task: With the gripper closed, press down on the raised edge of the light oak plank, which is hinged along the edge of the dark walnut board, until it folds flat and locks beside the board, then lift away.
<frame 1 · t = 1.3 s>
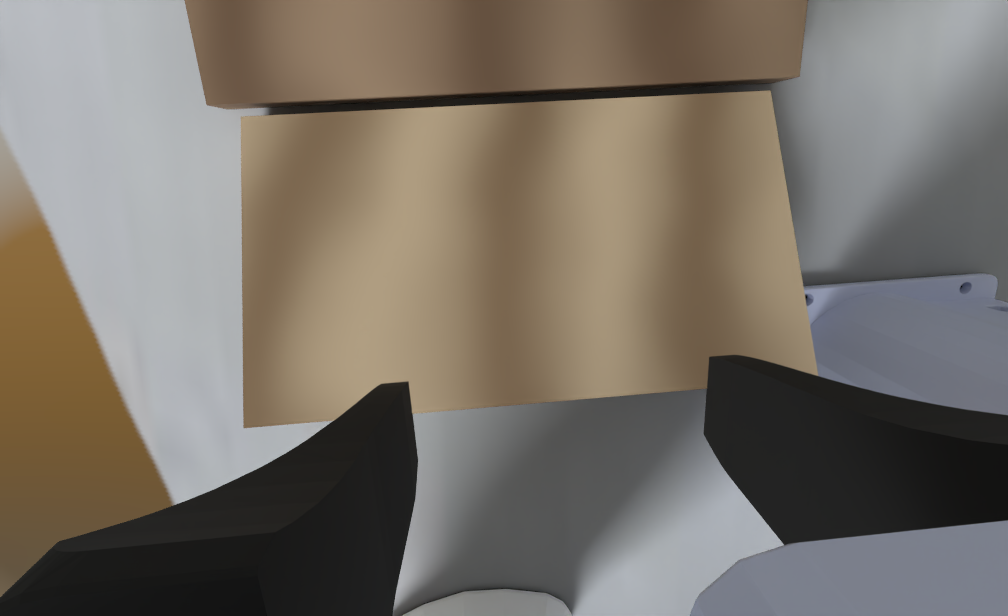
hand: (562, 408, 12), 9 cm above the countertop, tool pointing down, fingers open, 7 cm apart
oak plank: (524, 252, 17), point 3 cm above the countertop, hinge at 25.0°
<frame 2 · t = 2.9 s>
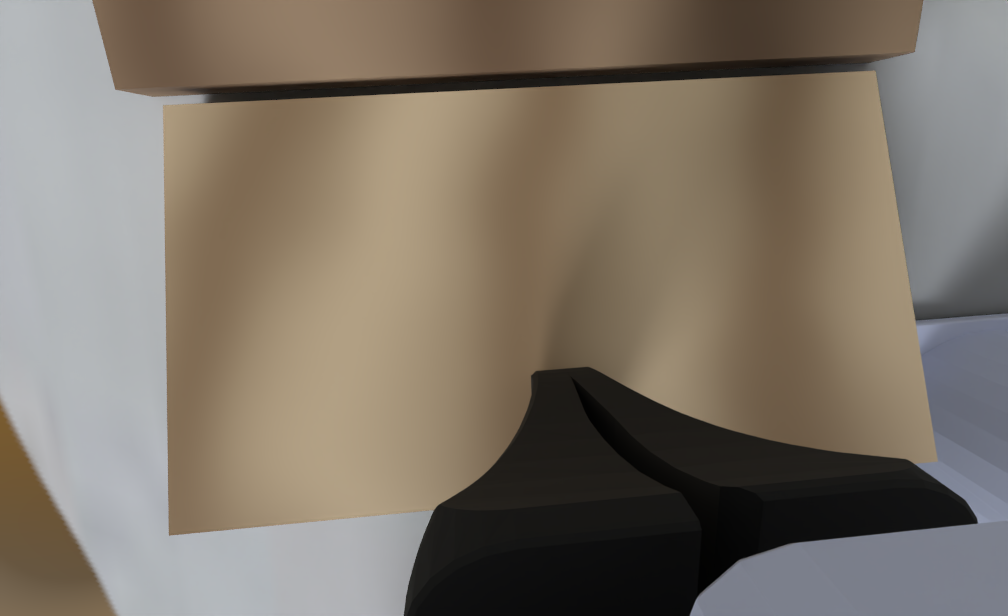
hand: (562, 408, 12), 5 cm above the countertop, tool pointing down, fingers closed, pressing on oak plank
oak plank: (547, 288, 13), point 3 cm above the countertop, hinge at 22.6°, touching gripper
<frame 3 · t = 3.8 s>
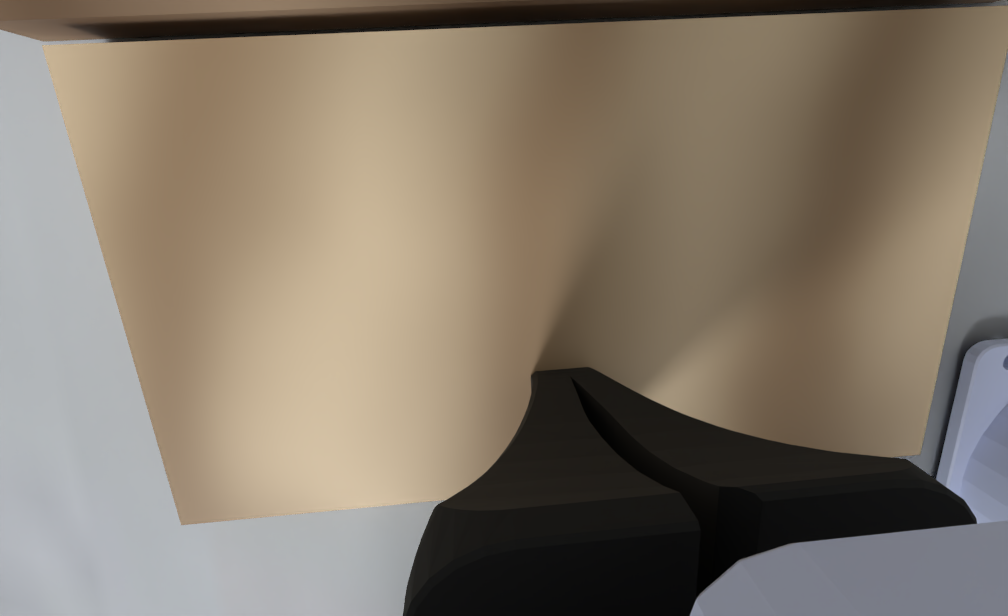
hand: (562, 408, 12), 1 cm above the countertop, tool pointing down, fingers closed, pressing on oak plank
oak plank: (556, 279, 11), point 1 cm above the countertop, hinge at 0.0°, touching gripper
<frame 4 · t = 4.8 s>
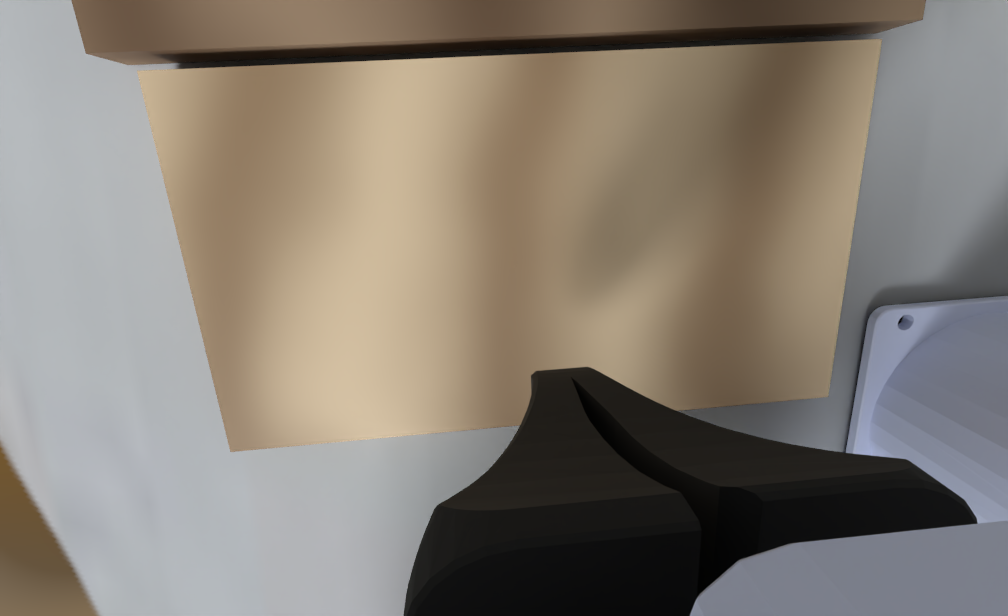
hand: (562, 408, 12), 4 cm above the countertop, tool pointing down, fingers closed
oak plank: (531, 253, 14), point 1 cm above the countertop, hinge at 0.0°
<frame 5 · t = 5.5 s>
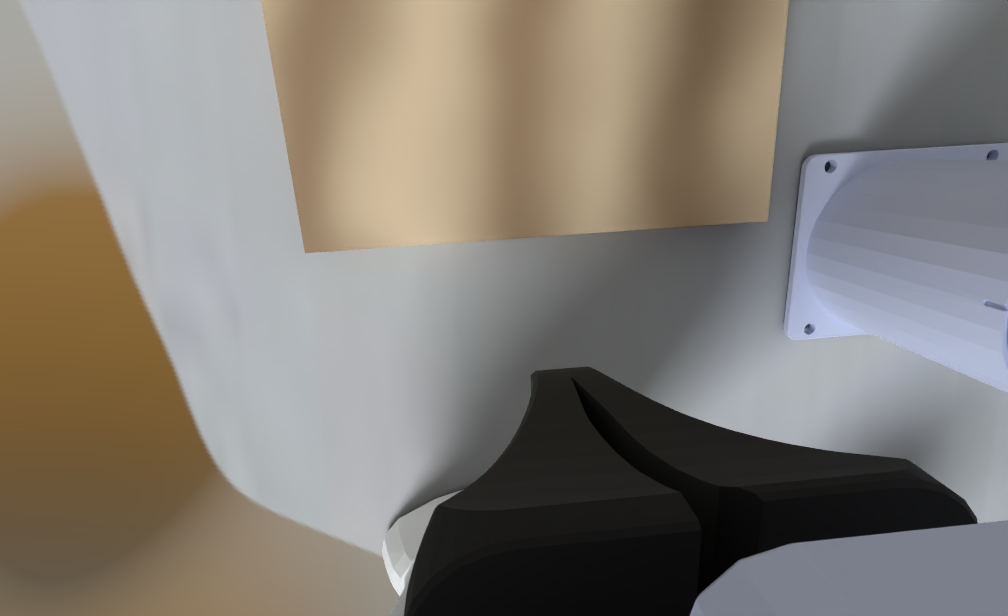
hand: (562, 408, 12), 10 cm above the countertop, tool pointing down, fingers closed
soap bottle: (489, 542, 25), on the countertop
oak plank: (535, 99, 19), point 1 cm above the countertop, hinge at 0.0°
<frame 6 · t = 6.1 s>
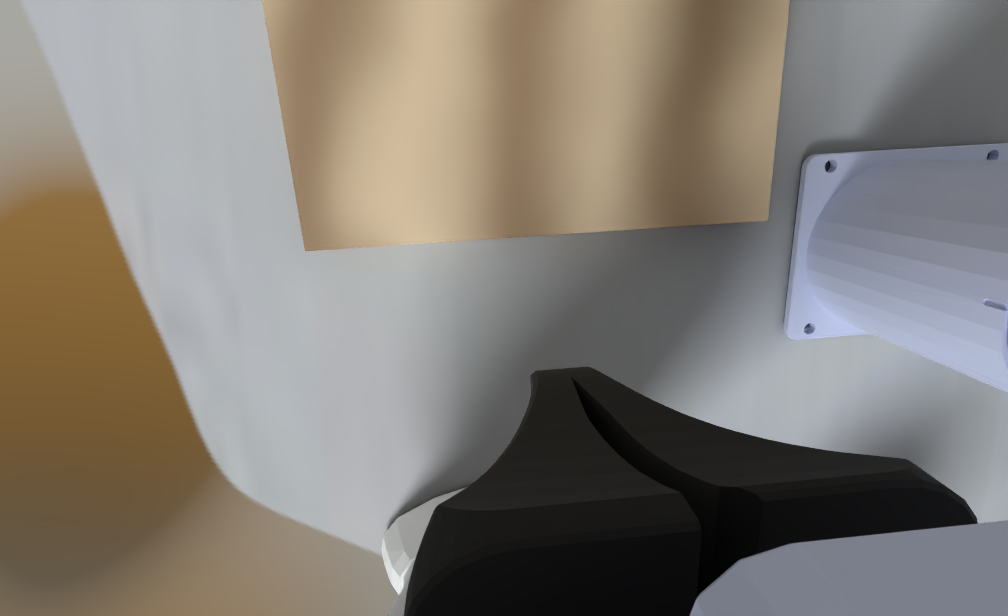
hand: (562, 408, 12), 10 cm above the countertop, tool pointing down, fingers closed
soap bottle: (488, 542, 25), on the countertop
oak plank: (535, 98, 19), point 1 cm above the countertop, hinge at 0.0°
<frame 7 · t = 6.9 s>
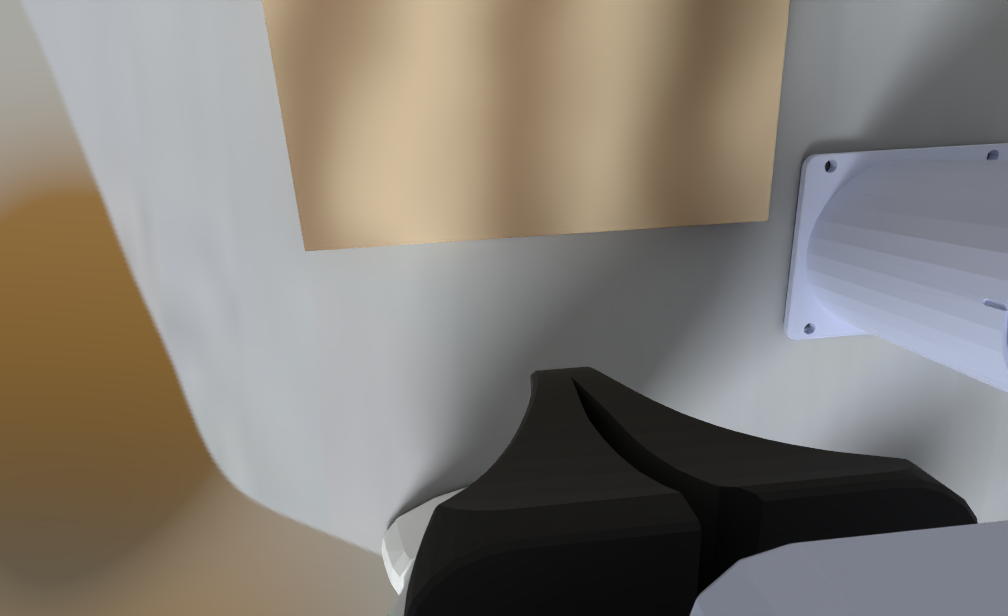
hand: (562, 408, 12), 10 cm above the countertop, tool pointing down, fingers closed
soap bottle: (488, 542, 25), on the countertop
oak plank: (535, 98, 19), point 1 cm above the countertop, hinge at 0.0°
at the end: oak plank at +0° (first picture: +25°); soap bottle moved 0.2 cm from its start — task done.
